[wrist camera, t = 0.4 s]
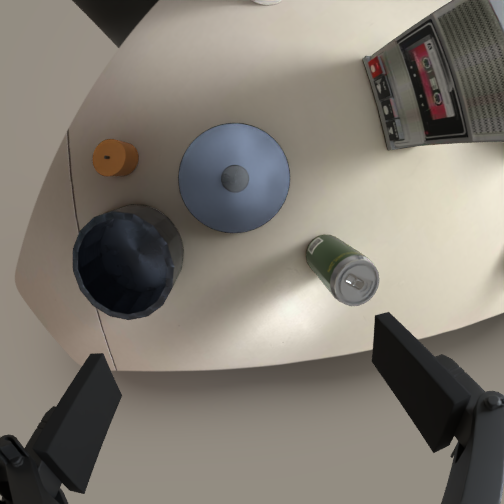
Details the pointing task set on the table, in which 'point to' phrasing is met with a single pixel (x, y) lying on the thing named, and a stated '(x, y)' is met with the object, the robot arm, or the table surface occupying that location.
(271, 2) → the beer glass
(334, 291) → the beer can
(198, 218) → the tin lid
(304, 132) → the table surface
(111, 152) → the candle
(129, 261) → the tin
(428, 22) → the cassette tape recorder
